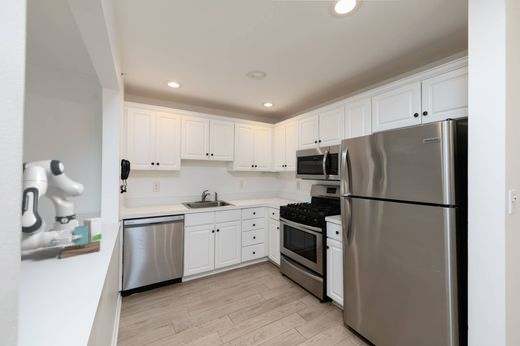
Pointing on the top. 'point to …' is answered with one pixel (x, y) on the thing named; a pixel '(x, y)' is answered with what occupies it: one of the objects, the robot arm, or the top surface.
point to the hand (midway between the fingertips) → (82, 234)
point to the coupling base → (80, 249)
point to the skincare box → (93, 229)
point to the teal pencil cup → (82, 234)
